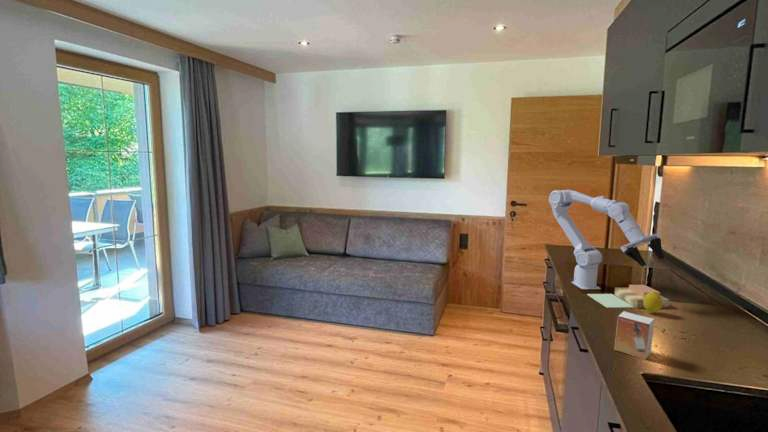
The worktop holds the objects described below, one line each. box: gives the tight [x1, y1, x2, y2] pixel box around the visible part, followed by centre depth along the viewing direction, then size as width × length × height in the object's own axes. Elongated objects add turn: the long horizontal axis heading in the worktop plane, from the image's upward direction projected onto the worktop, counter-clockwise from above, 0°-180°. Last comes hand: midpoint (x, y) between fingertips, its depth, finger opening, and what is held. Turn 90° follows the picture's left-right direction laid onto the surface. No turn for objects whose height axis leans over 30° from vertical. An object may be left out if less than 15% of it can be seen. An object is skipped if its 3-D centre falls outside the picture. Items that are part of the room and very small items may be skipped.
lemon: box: [643, 292, 662, 314], centre depth 144 cm, size 6×6×8 cm
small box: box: [613, 310, 656, 360], centre depth 115 cm, size 8×6×10 cm
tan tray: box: [613, 287, 670, 309], centre depth 156 cm, size 14×12×3 cm
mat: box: [586, 293, 635, 309], centre depth 156 cm, size 14×10×1 cm
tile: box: [628, 284, 661, 298], centre depth 156 cm, size 9×6×2 cm, turn 2°
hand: (653, 262), depth 150 cm, fingers open, 7 cm apart
